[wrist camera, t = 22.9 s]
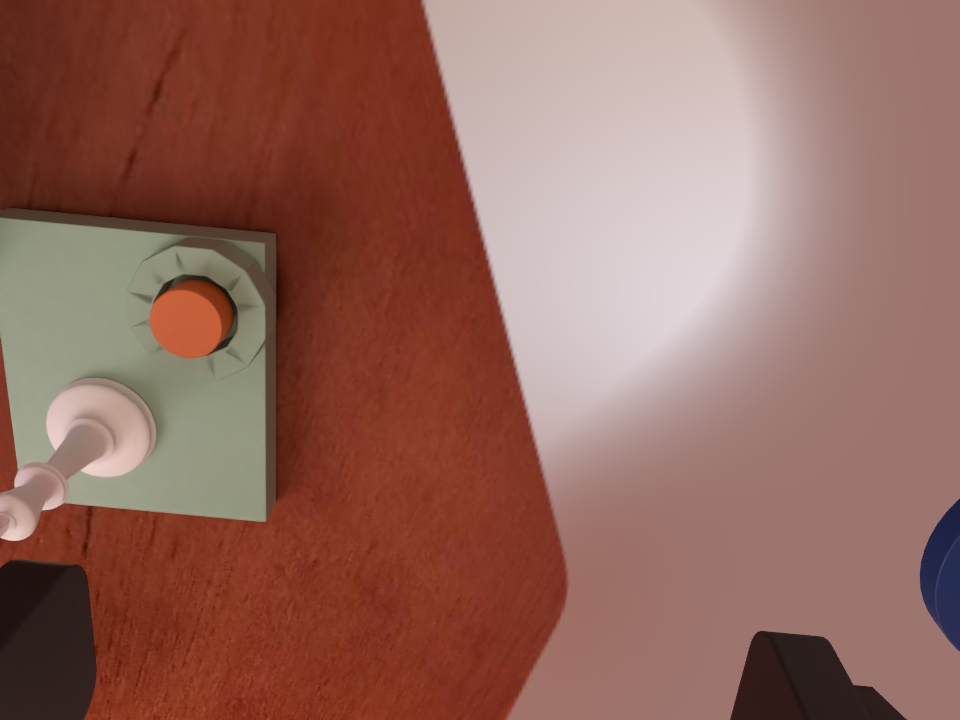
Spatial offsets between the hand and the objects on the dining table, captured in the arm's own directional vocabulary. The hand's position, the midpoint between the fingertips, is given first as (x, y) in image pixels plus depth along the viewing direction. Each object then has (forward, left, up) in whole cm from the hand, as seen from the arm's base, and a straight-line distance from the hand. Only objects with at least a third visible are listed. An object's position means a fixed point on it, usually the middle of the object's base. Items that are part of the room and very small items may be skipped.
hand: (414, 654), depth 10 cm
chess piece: (+17, +12, -26) cm, 33 cm away
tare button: (+11, +5, -25) cm, 28 cm away
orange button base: (+15, +9, -28) cm, 33 cm away
